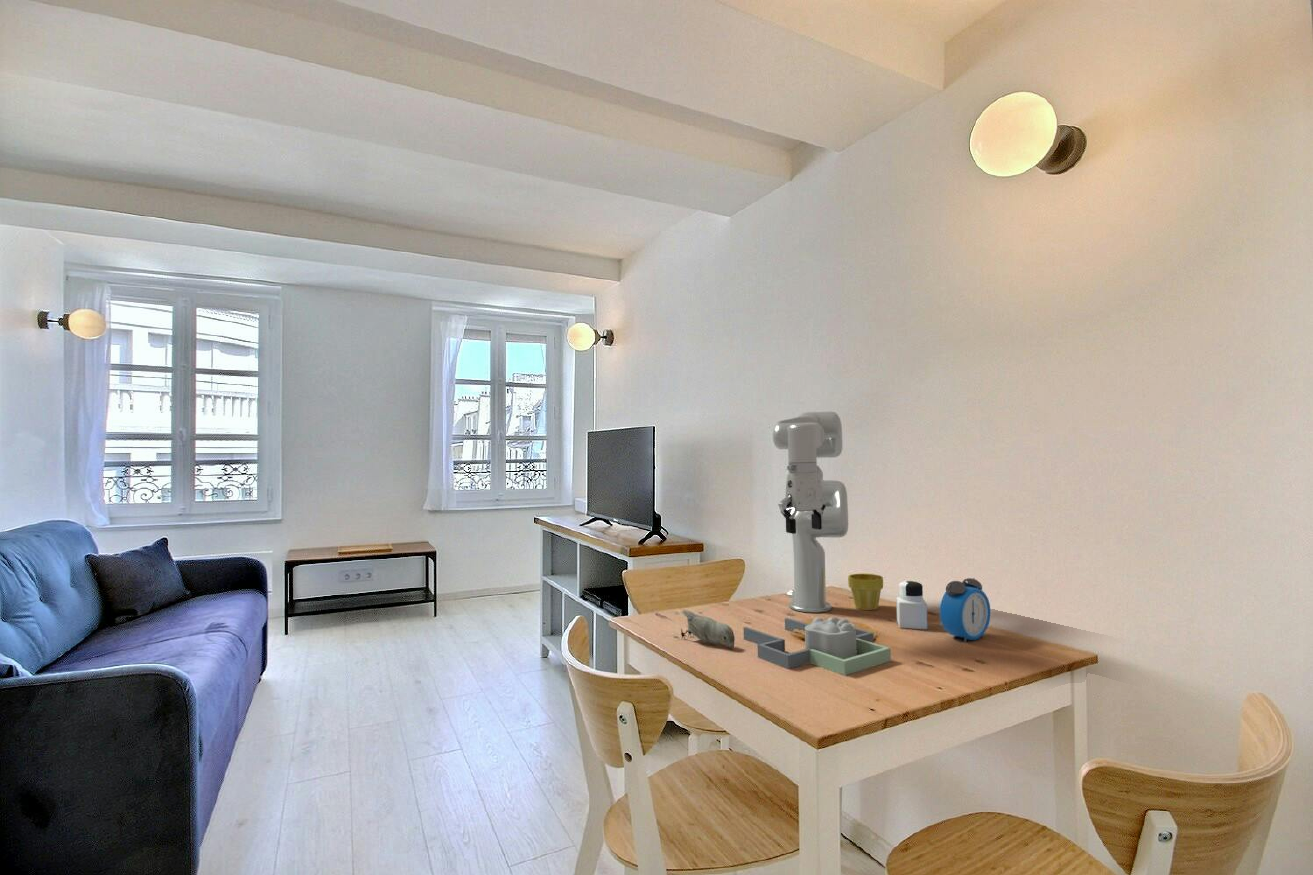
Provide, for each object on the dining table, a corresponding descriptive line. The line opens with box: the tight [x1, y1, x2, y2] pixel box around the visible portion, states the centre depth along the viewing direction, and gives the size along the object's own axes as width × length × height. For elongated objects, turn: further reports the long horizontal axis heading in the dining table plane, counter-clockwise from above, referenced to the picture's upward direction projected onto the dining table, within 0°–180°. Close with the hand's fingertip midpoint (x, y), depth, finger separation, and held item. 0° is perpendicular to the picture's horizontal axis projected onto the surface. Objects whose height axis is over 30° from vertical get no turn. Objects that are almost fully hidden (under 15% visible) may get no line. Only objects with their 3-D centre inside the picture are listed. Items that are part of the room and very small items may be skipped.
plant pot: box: [847, 572, 884, 611], centre depth 194 cm, size 10×10×10 cm
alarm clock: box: [939, 577, 991, 643], centre depth 162 cm, size 13×6×15 cm, turn 120°
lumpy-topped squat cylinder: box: [804, 616, 858, 659], centre depth 149 cm, size 10×13×9 cm
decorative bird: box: [679, 609, 736, 650], centre depth 160 cm, size 5×16×8 cm, turn 47°
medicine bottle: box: [896, 580, 928, 630], centre depth 174 cm, size 7×7×12 cm
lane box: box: [743, 617, 892, 676], centre depth 154 cm, size 33×30×3 cm
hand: (804, 530), depth 171 cm, fingers open, 9 cm apart
